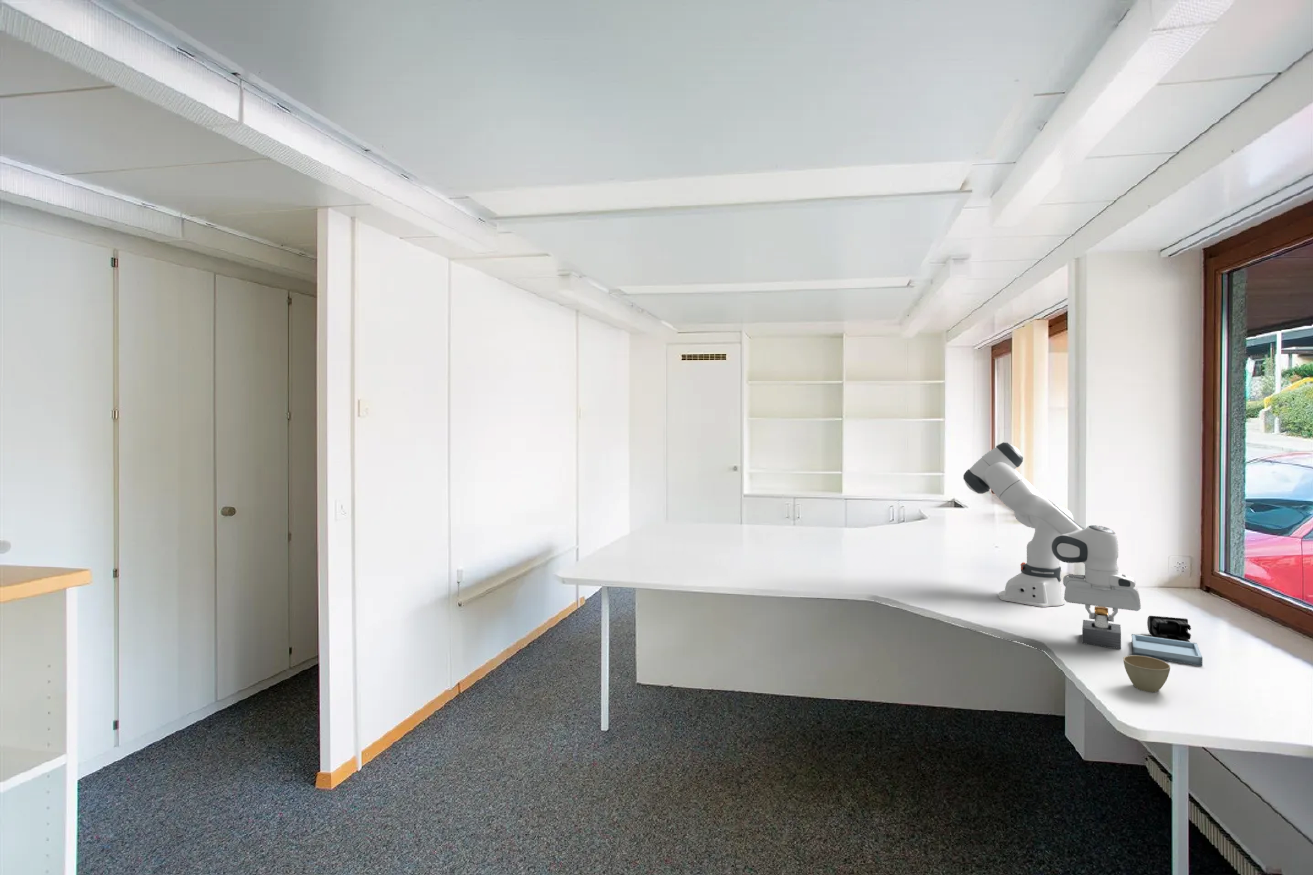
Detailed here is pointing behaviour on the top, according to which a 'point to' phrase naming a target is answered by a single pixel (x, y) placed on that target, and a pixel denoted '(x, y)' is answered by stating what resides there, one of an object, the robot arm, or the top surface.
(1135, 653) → the tray
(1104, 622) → the gold and grey cylinder
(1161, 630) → the end cap
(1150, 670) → the olive bowl
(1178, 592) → the top surface
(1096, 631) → the socket block
